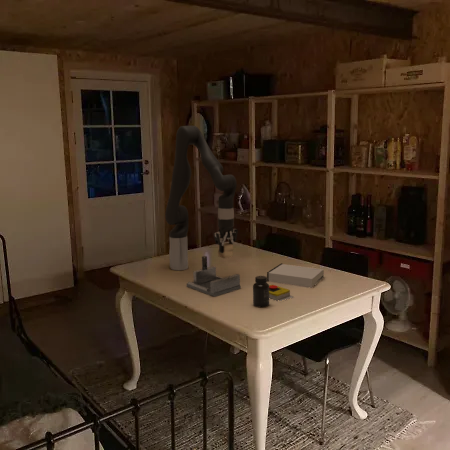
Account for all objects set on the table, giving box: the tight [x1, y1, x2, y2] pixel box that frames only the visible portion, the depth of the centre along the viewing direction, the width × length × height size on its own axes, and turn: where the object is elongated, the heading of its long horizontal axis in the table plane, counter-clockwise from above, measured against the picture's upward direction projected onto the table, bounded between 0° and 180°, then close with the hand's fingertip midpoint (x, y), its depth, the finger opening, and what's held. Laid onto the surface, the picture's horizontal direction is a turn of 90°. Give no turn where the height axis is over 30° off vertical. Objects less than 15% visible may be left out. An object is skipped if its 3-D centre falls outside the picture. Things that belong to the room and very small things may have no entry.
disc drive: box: [266, 263, 325, 289], centre depth 247 cm, size 18×22×5 cm
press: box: [186, 273, 242, 298], centre depth 236 cm, size 20×16×6 cm
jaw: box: [192, 255, 217, 284], centre depth 240 cm, size 2×12×12 cm, turn 132°
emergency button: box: [269, 284, 295, 302], centre depth 225 cm, size 9×4×15 cm
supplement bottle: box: [252, 275, 270, 308], centre depth 213 cm, size 7×7×12 cm
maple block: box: [217, 242, 234, 259], centre depth 245 cm, size 5×5×6 cm
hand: (226, 251), depth 245 cm, fingers closed on maple block, 5 cm apart
